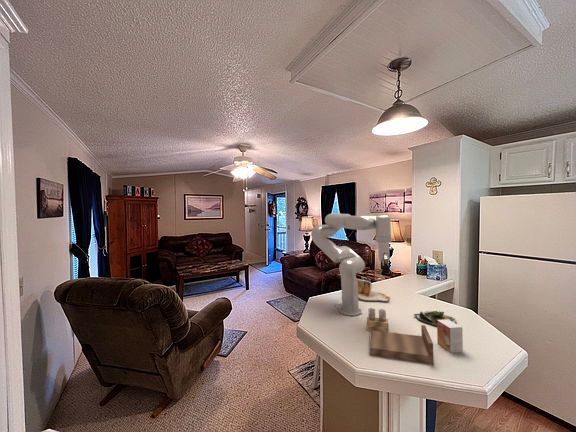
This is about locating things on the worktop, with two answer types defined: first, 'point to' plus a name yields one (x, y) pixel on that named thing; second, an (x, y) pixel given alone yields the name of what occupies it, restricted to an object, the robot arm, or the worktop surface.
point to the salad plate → (433, 317)
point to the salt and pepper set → (377, 321)
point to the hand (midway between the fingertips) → (384, 271)
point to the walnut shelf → (403, 346)
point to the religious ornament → (369, 292)
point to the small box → (449, 336)
